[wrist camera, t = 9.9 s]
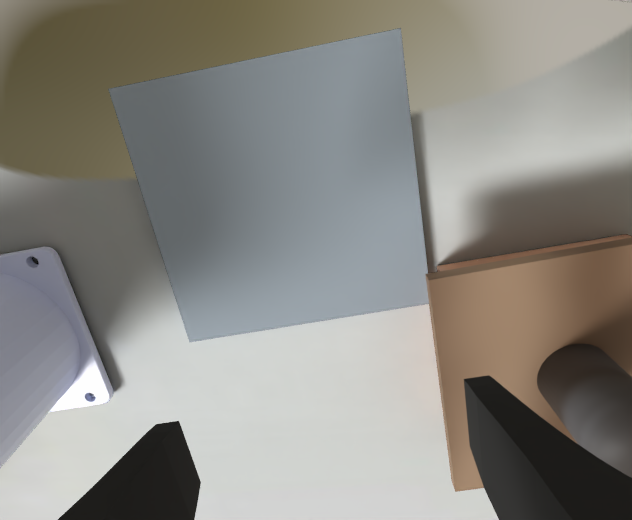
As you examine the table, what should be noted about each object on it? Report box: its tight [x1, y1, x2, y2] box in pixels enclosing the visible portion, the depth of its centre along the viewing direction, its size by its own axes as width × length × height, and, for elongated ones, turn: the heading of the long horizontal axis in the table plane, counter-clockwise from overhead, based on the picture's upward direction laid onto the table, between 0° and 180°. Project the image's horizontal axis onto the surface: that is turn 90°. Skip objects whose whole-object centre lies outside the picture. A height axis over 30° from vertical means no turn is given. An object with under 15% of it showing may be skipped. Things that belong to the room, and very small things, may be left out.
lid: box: [425, 237, 632, 492], centre depth 16 cm, size 10×10×5 cm
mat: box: [108, 28, 429, 342], centre depth 19 cm, size 11×11×1 cm
